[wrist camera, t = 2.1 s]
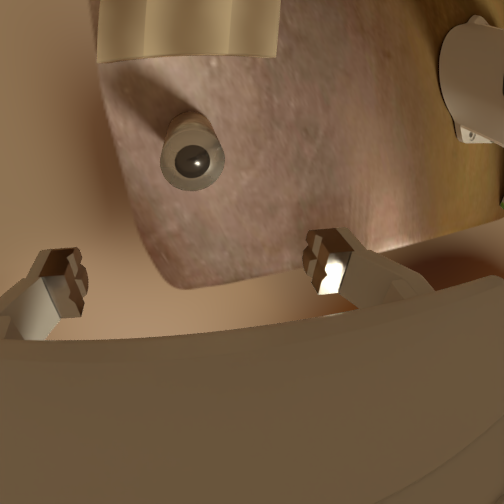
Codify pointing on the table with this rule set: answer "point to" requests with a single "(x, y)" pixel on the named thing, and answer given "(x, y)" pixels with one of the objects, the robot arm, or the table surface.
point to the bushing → (191, 153)
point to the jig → (186, 28)
